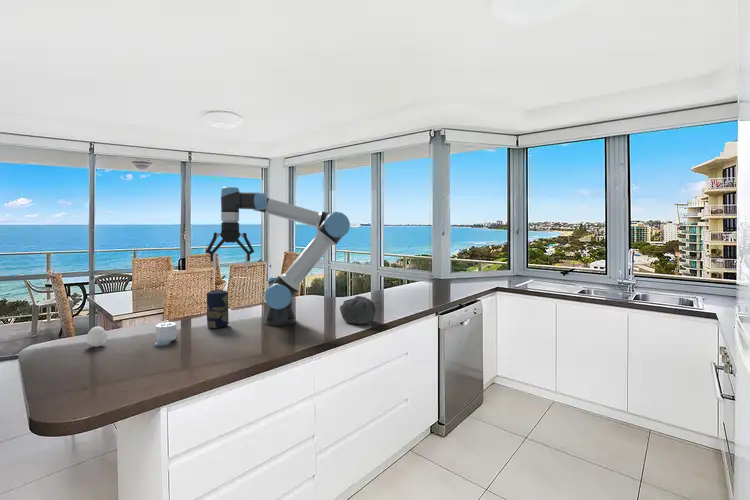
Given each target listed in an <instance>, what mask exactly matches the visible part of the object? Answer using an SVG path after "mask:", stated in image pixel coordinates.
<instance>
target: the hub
mask: <svg viewBox="0 0 750 500" xmlns="http://www.w3.org/2000/svg"><path fill="white" fill-rule="evenodd" d="M162 324H170V325H169V326H162ZM177 331H178V330H177V323H176V322H173V321H172V322H171V321H170V322H161V323H157V324H156V325H155V341H156V342H157V341H160V342H162V341H170V340H173V341H174V340H176V339H177V337H178V336H177V335H178V334H177V333H178V332H177Z"/></svg>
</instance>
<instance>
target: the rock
mask: <svg viewBox="0 0 750 500" xmlns="http://www.w3.org/2000/svg"><path fill="white" fill-rule="evenodd" d="M342 303H343V304H341V305H340V307H339V312H340V315H341V317H342V319H343V320H344V321H345V322H347V323H348V324H355V325H356V324H357V325H368V324H370V323H372V322H373V321H374V320H375V317H376V314H377V313H376V306H375V303H374V302H373V301H372V300H371V299H370V298H367V297H366V296H359V295H356V296H354V297H353V298H350V299H346V300H344V301H343V302H342Z"/></svg>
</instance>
